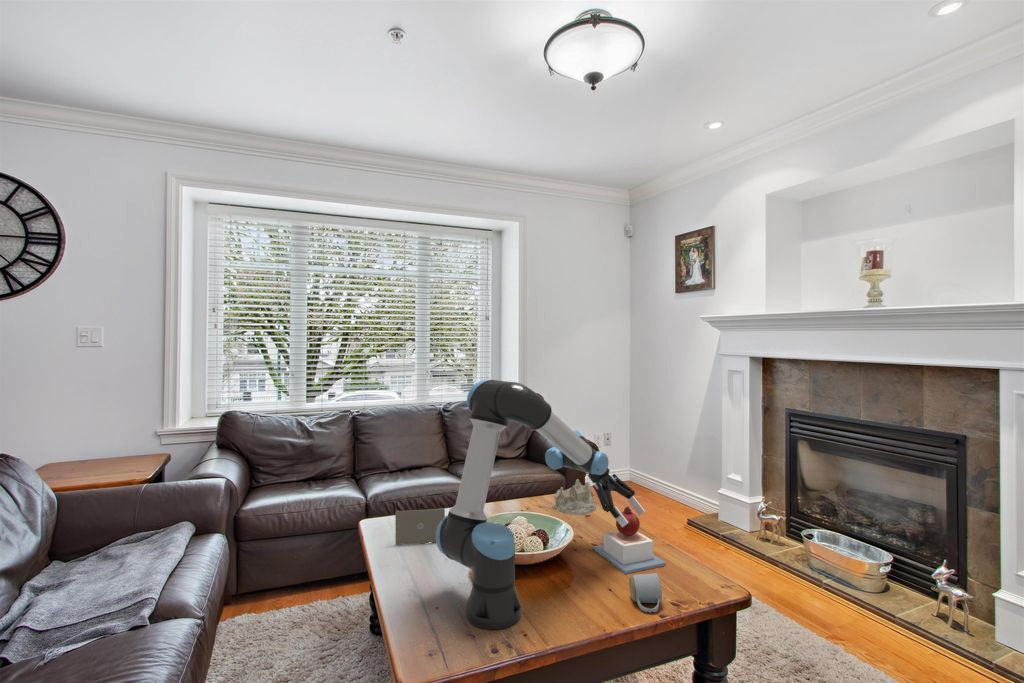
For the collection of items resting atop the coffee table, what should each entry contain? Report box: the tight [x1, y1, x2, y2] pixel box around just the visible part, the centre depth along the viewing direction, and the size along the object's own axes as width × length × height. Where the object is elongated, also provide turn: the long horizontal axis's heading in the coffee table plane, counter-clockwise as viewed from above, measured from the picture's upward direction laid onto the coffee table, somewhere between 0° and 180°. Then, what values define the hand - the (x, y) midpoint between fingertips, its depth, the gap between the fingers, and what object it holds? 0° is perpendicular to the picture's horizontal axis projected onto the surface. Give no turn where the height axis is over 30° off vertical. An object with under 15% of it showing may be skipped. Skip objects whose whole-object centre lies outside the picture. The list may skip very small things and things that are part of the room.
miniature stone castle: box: [553, 478, 597, 516], centre depth 222 cm, size 16×16×15 cm
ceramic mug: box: [628, 572, 663, 614], centre depth 143 cm, size 11×8×8 cm
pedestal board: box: [592, 530, 667, 575], centre depth 173 cm, size 20×16×7 cm
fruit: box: [615, 506, 641, 536], centre depth 173 cm, size 8×8×10 cm
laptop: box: [394, 508, 446, 546], centre depth 190 cm, size 18×12×13 cm
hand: (634, 519), depth 171 cm, fingers open, 13 cm apart
